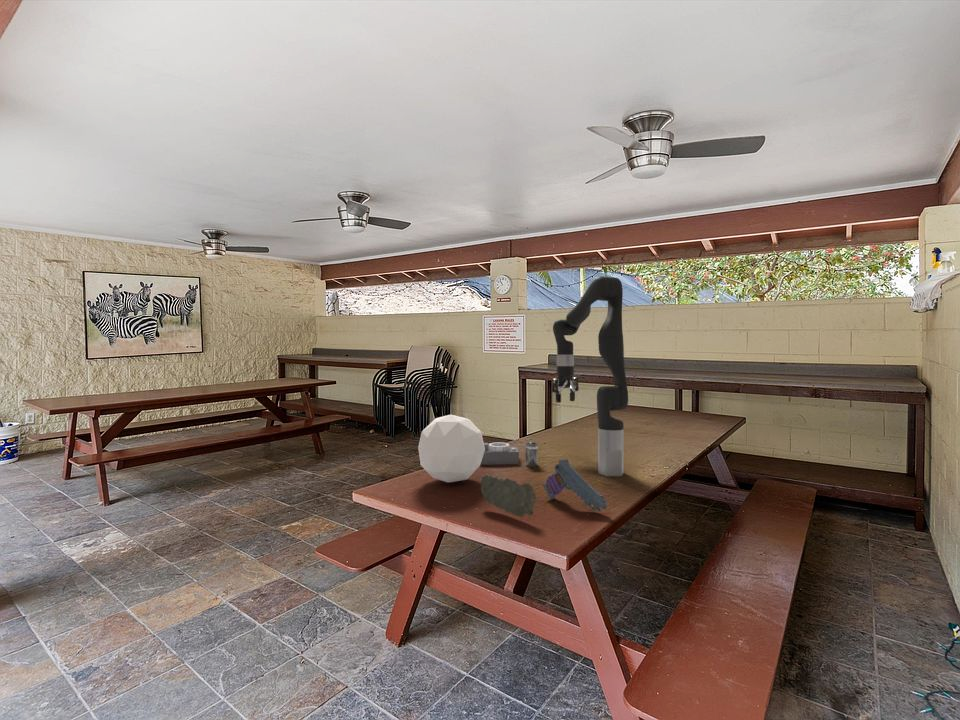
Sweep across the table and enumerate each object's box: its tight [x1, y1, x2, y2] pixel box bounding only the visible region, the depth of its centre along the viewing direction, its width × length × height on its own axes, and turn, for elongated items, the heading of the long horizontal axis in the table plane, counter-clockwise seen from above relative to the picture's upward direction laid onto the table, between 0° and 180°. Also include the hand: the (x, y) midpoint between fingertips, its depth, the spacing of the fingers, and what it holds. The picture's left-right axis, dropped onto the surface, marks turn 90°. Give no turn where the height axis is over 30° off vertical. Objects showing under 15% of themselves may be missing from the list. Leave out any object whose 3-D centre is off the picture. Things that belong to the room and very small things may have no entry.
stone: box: [480, 474, 537, 518], centre depth 151 cm, size 21×4×10 cm, turn 43°
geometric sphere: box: [417, 414, 485, 483], centre depth 181 cm, size 24×25×25 cm
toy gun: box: [542, 458, 608, 512], centre depth 156 cm, size 4×21×15 cm
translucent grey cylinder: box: [524, 441, 539, 468], centre depth 201 cm, size 5×5×10 cm
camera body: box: [480, 441, 520, 466], centre depth 209 cm, size 10×16×8 cm, turn 89°
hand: (565, 401), depth 218 cm, fingers open, 8 cm apart
